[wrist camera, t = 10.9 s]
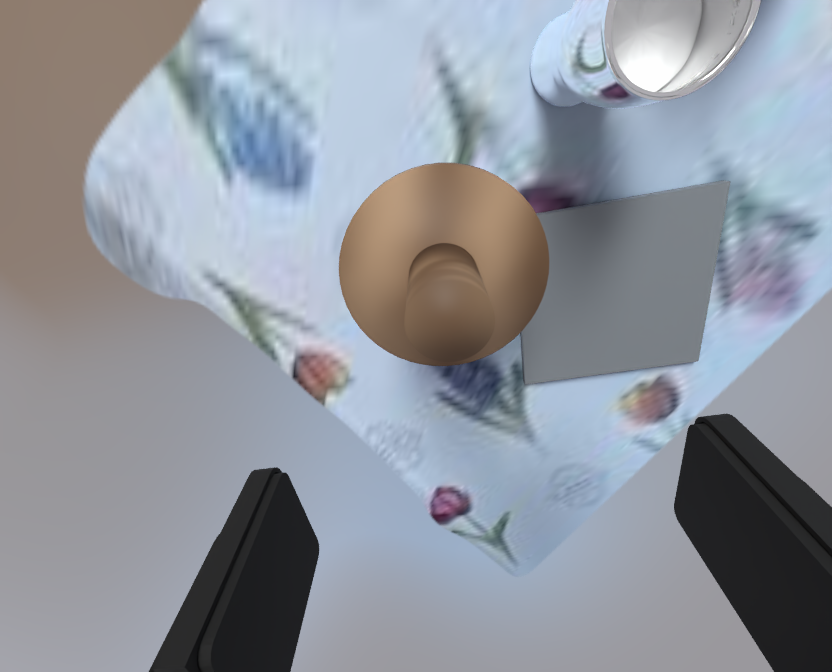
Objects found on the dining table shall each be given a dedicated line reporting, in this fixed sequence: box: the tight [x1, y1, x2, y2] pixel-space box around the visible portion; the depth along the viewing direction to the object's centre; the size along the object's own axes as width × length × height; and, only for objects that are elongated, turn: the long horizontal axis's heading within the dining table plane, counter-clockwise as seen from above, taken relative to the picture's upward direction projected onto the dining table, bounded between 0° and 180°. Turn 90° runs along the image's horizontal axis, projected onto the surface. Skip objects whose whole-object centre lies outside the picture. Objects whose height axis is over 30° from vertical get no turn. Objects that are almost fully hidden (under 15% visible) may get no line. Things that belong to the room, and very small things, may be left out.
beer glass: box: [530, 0, 761, 109], centre depth 24 cm, size 7×7×15 cm
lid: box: [339, 163, 549, 366], centre depth 21 cm, size 12×12×7 cm
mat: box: [521, 181, 730, 384], centre depth 39 cm, size 18×18×1 cm
